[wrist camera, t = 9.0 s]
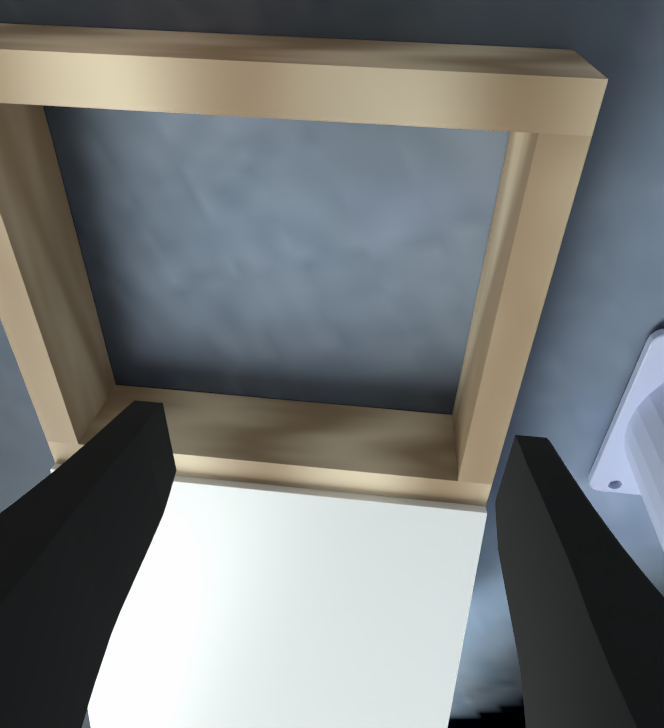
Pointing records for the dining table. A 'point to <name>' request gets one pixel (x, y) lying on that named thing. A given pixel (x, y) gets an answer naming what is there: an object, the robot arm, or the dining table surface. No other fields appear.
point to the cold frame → (285, 417)
